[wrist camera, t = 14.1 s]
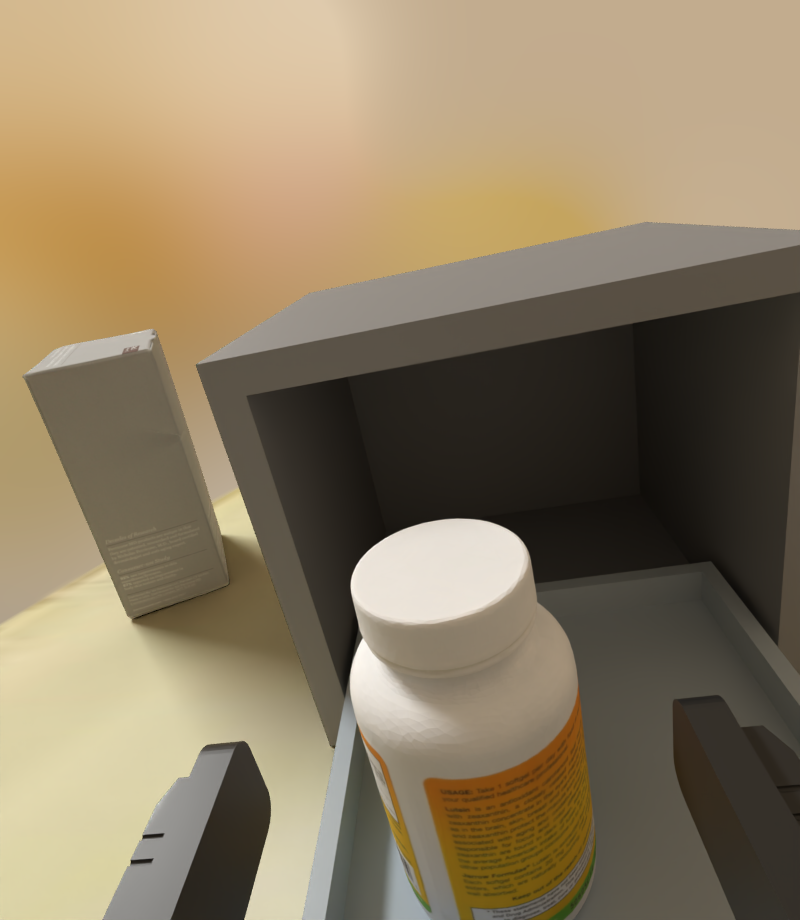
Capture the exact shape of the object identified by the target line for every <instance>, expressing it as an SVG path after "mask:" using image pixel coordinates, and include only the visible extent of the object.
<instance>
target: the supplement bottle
mask: <svg viewBox="0 0 800 920" xmlns="http://www.w3.org/2000/svg"><path fill="white" fill-rule="evenodd" d="M351 594H352V598H353V603H354V607H355V611H356V615H357V619H358V624H359V628H360V632H361V634H362V636H363V639H362V641H361V643H360V645H359V647H358V649H357V652H356V654H355V657H354V660H353V664H352V668H351V675H350V693H351V700H352V705H353V708H354V713H355V717H356V720H357V724H358V727H359V730H360V733H361V736H362V739H363V743H364V746H365V749H366V752H367V755H368V758H369V761H370V764H371V767H372V770H373V773H374V776H375V780H376V783H377V787H378V789H379V792H380V795H381V799H382V802H383V805H384V808H385V811H386V814H387V817H388V820H389V823H390V827H391V830H392V833H393V836H394V839H395V842H396V845H397V849H398V851H399V855H400V858H401V861H402V864H403V867H404V870H405V873H406V876H407V878H408V881H409V883H410V885H411V888H412V890H413V892H414V894H415V896H416V898H417V900H418V902H419V903H420V905H421V906H422V908H423V909H424V911H425V912H426V913H427V915H428V916H429V917H430V918H431V919H432V920H573V919H574V918H575V917H576V915H577V914H578V912H579V911H580V909H581V908H582V906H583V904H584V903H585V901H586V899H587V897H588V894H589V892H590V889H591V886H592V883H593V879H594V874H595V867H596V834H595V825H594V817H593V809H592V800H591V792H590V784H589V774H588V766H587V757H586V749H585V740H584V730H583V721H582V712H581V703H580V693H579V685H578V677H577V669H576V664H575V659H574V654H573V651H572V648H571V645H570V642H569V640H568V637H567V635H566V634H565V632H564V630H563V629H562V627H561V625H560V624H559V623H558V622H557V620H556V619H555V618H554V617H553V615H552V614H551V613H550V612H549V611H547V610H546V609H545V608H544V607H543V606H542V605H540V604H539V603H538V602H537V595H536V589H535V583H534V577H533V571H532V565H531V559H530V555H529V552H528V550H527V548H526V546H525V544H524V543H523V542H522V540H521V539H520V538H519V537H518V536H517V535H515V534H514V533H513V532H511V531H510V530H508V529H506V528H504V527H502V526H500V525H497V524H494V523H491V522H487V521H482V520H475V519H445V520H438V521H431V522H427V523H422V524H419V525H415V526H412V527H409V528H406V529H404V530H401V531H399V532H396V533H394V534H392V535H390V536H389V537H387V538H385V539H383V540H382V541H380V542H379V543H378V544H376V545H375V546H373V547H372V548H371V549H370V550H369V551H368V552H367V553H366V554H365V555H364V556H363V557H362V558H361V560H360V561H359V562H358V564H357V566H356V568H355V570H354V572H353V575H352V579H351Z"/></svg>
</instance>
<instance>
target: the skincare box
mask: <svg viewBox="0 0 800 920" xmlns="http://www.w3.org/2000/svg"><path fill="white" fill-rule="evenodd" d="M23 378H24V379H25V381H26V383H27V385H28V388H29V390H30V392H31V395H32V397H33V399H34V401H35V404H36V406H37V408H38V410H39V412H40V414H41V417H42V419H43V421H44V423H45V426H46V428H47V430H48V433H49V435H50V437H51V440H52V442H53V444H54V446H55V449H56V451H57V454H58V456H59V458H60V460H61V463H62V465H63V468H64V470H65V472H66V474H67V477H68V479H69V481H70V484H71V486H72V488H73V491H74V493H75V495H76V498H77V500H78V502H79V505H80V507H81V509H82V511H83V514H84V516H85V518H86V521H87V523H88V525H89V528H90V530H91V532H92V534H93V537H94V539H95V541H96V544H97V546H98V548H99V551H100V553H101V556H102V558H103V560H104V562H105V565H106V567H107V569H108V572H109V574H110V576H111V579H112V581H113V583H114V586H115V588H116V591H117V593H118V595H119V598H120V600H121V602H122V604H123V607H124V609H125V611H126V614H127V616H128V617H130V618H131V619H133V618H135V617H138V616H141V615H144V614H147V613H150V612H153V611H155V610H158V609H161V608H164V607H167V606H170V605H172V604H175V603H178V602H181V601H184V600H187V599H191V598H193V597H196V596H199V595H202V594H205V593H208V592H211V591H213V590H216V589H219V588H221V587H224V586H226V585H228V584H229V576H228V570H227V564H226V558H225V552H224V547H223V542H222V537H221V532H220V528H219V525H218V522H217V519H216V516H215V512H214V509H213V506H212V502H211V499H210V496H209V493H208V490H207V486H206V483H205V480H204V477H203V474H202V471H201V467H200V464H199V461H198V458H197V455H196V452H195V449H194V445H193V442H192V439H191V436H190V433H189V430H188V427H187V424H186V420H185V417H184V414H183V411H182V408H181V405H180V402H179V399H178V395H177V393H176V389H175V386H174V383H173V380H172V377H171V374H170V371H169V368H168V364H167V362H166V358H165V355H164V352H163V350H162V346H161V344H160V341H159V338H158V335H157V332H156V331H155V330H154V329H150V330H145V331H140V332H136V333H131V334H126V335H120V336H115V337H111V338H105V339H99V340H93V341H88V342H82V343H77V344H72V345H68V346H64V347H61V348H58V349H55V350H53V351H52V352H51V353H50V354H49V355H48V356H46V357H45V358H44V359H43V360H42V361H41V362H40V363H39V364H37V365H36V366H35V367H33V368H32V369H31V370H30V371H28V372H27V373H26V374H24V375H23Z"/></svg>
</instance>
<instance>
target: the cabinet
mask: <svg viewBox="0 0 800 920" xmlns="http://www.w3.org/2000/svg"><path fill="white" fill-rule="evenodd" d="M196 367H197V370H198V373H199V376H200V379H201V382H202V384H203V387H204V390H205V393H206V396H207V399H208V401H209V404H210V407H211V410H212V413H213V415H214V418H215V421H216V424H217V427H218V430H219V432H220V435H221V438H222V441H223V444H224V447H225V449H226V452H227V455H228V458H229V461H230V463H231V466H232V469H233V472H234V475H235V477H236V480H237V483H238V486H239V489H240V492H241V495H242V497H243V500H244V503H245V506H246V509H247V512H248V514H249V517H250V520H251V523H252V526H253V529H254V531H255V534H256V537H257V540H258V543H259V546H260V548H261V551H262V554H263V557H264V560H265V562H266V565H267V568H268V571H269V574H270V577H271V579H272V582H273V585H274V588H275V591H276V594H277V596H278V599H279V602H280V605H281V608H282V611H283V613H284V616H285V619H286V622H287V625H288V627H289V630H290V633H291V636H292V639H293V642H294V644H295V647H296V650H297V653H298V656H299V659H300V661H301V664H302V667H303V670H304V673H305V676H306V678H307V681H308V684H309V687H310V690H311V692H312V695H313V698H314V701H315V704H316V707H317V709H318V712H319V715H320V718H321V721H322V724H323V726H324V729H325V732H326V735H327V738H328V741H329V743H330V746H336V742H337V737H338V731H339V726H340V721H341V716H342V711H343V706H344V700H345V695H346V690H347V685H348V680H349V675H350V669H351V664H352V659H353V654H354V649H355V644H356V638H357V633H358V628H359V624H358V619H357V615H356V611H355V607H354V603H353V598H352V594H351V579H352V575H353V572H354V570H355V568H356V566H357V564H358V562H359V561H360V560H361V558H362V557H363V556H364V555H365V554H366V553H367V552H368V551H369V550H370V549H371V548H372V547H373V546H375V545H376V544H378V543H379V542H380V541H382V540H383V539H385V538H387V537H389V536H390V535H392V534H394V533H396V532H399V531H401V530H404V529H406V528H409V527H412V526H415V525H419V524H422V523H427V522H431V521H438V520H445V519H475V520H482V521H487V522H491V523H494V524H497V525H500V526H502V527H504V528H506V529H508V530H510V531H511V532H513V533H514V534H515V535H517V536H518V537H519V538H520V539H521V540H522V542H523V543H524V544H525V546H526V548H527V550H528V552H529V555H530V559H531V565H532V571H533V577H534V583H535V584H537V583H545V582H553V581H561V580H569V579H576V578H584V577H592V576H600V575H607V574H615V573H623V572H631V571H639V570H646V569H654V568H662V567H670V566H677V565H685V564H693V563H701V562H709V561H711V562H712V563H713V564H714V566H715V567H716V568H717V570H718V571H719V572H720V573H721V575H722V576H723V577H724V579H725V580H726V581H727V582H728V584H729V585H730V586H731V588H732V589H733V590H734V591H735V593H736V594H737V595H738V597H739V598H740V599H741V600H742V602H743V603H744V604H745V606H746V607H747V608H748V609H749V611H750V612H751V613H752V615H753V616H754V617H755V618H756V620H757V621H758V622H759V624H760V625H761V626H762V627H763V629H764V630H765V631H766V633H767V634H768V635H769V636H770V638H771V639H772V640H773V642H774V643H775V644H776V645H777V647H778V648H779V649H780V651H781V652H782V653H783V654H784V656H785V657H786V658H787V660H788V661H789V662H790V663H791V665H792V666H793V667H794V669H795V670H796V671H797V672H798V674H799V675H800V230H787V229H768V228H748V227H729V226H710V225H689V224H670V223H652V222H644V223H640V224H635V225H630V226H625V227H620V228H615V229H611V230H606V231H601V232H597V233H592V234H588V235H583V236H578V237H573V238H568V239H564V240H559V241H554V242H549V243H544V244H540V245H535V246H530V247H526V248H521V249H516V250H511V251H506V252H502V253H497V254H493V255H488V256H483V257H478V258H473V259H469V260H465V261H459V262H454V263H450V264H445V265H440V266H435V267H431V268H426V269H421V270H417V271H412V272H408V273H403V274H398V275H393V276H388V277H383V278H379V279H374V280H369V281H365V282H360V283H355V284H350V285H345V286H341V287H336V288H331V289H326V290H322V291H317V292H313V293H309V294H307V295H306V296H304V297H302V298H301V299H299V300H298V301H296V302H294V303H293V304H291V305H290V306H288V307H286V308H285V309H283V310H282V311H280V312H279V313H277V314H275V315H274V316H272V317H271V318H269V319H267V320H266V321H264V322H263V323H261V324H259V325H258V326H256V327H255V328H253V329H251V330H250V331H248V332H247V333H245V334H244V335H242V336H241V337H239V338H237V339H236V340H234V341H232V342H231V343H229V344H228V345H226V346H224V347H223V348H221V349H220V350H218V351H217V352H215V353H213V354H212V355H210V356H209V357H207V358H206V359H204V360H202V361H201V362H199V363H197V364H196Z"/></svg>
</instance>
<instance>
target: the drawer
mask: <svg viewBox="0 0 800 920" xmlns="http://www.w3.org/2000/svg"><path fill="white" fill-rule="evenodd" d="M535 589H536V595H537V602H538V603H539V604H540V605H542V606H543V607H544V608H545V609H546V610H547V611H549V612H550V613H551V614H552V615H553V617H554V618H555V619H556V620H557V622H558V623H559V624H560V625H561V627H562V629H563V630H564V632H565V634H566V635H567V637H568V640H569V642H570V645H571V648H572V651H573V654H574V659H575V664H576V669H577V677H578V685H579V693H580V703H581V712H582V721H583V730H584V740H585V749H586V757H587V766H588V774H589V784H590V792H591V800H592V809H593V817H594V825H595V834H596V867H595V874H594V879H593V883H592V886H591V889H590V892H589V894H588V897H587V899H586V901H585V903H584V904H583V906H582V908H581V909H580V911H579V912H578V914H577V915H576V917H575V918H574V919H573V920H736V919H735V917H734V915H733V912H732V910H731V908H730V905H729V903H728V901H727V898H726V896H725V893H724V891H723V889H722V886H721V884H720V882H719V879H718V877H717V875H716V872H715V870H714V868H713V865H712V863H711V861H710V858H709V856H708V854H707V851H706V849H705V846H704V844H703V842H702V839H701V837H700V835H699V832H698V830H697V828H696V825H695V823H694V821H693V818H692V816H691V814H690V811H689V809H688V806H687V804H686V802H685V799H684V797H683V794H682V792H681V789H680V786H679V782H678V779H677V775H676V770H675V765H674V757H673V708H672V707H673V701H674V699H681V698H691V697H701V696H711V695H719V696H721V697H722V698H723V699H724V700H725V702H726V703H727V705H728V706H729V708H730V710H731V712H732V713H733V715H734V717H735V718H736V720H737V722H738V723H739V725H740V727H749V726H760V725H763V726H764V727H766V728H767V729H768V730H769V731H770V732H772V733H773V734H774V735H775V736H776V737H778V738H779V739H780V740H781V741H782V742H784V743H785V744H786V745H787V746H789V747H790V748H791V749H792V750H793V751H794V752H795V753H796V755H797V756H798V758H799V759H800V675H799V674H798V672H797V671H796V670H795V669H794V667H793V666H792V665H791V663H790V662H789V661H788V660H787V658H786V657H785V656H784V654H783V653H782V652H781V651H780V649H779V648H778V647H777V645H776V644H775V643H774V642H773V640H772V639H771V638H770V636H769V635H768V634H767V633H766V631H765V630H764V629H763V627H762V626H761V625H760V624H759V622H758V621H757V620H756V618H755V617H754V616H753V615H752V613H751V612H750V611H749V609H748V608H747V607H746V606H745V604H744V603H743V602H742V600H741V599H740V598H739V597H738V595H737V594H736V593H735V591H734V590H733V589H732V588H731V586H730V585H729V584H728V582H727V581H726V580H725V579H724V577H723V576H722V575H721V573H720V572H719V571H718V570H717V568H716V567H715V566H714V564H713V563H712V562H711V561H709V562H701V563H693V564H685V565H677V566H670V567H662V568H654V569H646V570H639V571H631V572H623V573H615V574H607V575H600V576H592V577H584V578H576V579H569V580H561V581H553V582H545V583H537V584H535ZM362 639H363V636H362V634H361V632H360V628H358V633H357V638H356V644H355V649H354V654H353V659H352V664H353V660H354V657H355V654H356V652H357V649H358V647H359V645H360V643H361V641H362ZM352 664H351V668H352ZM350 675H351V669H350ZM350 675H349V680H348V685H347V690H346V695H345V700H344V706H343V711H342V716H341V721H340V726H339V731H338V737H337V742H336V747H335V752H334V757H333V762H332V768H331V773H330V778H329V783H328V788H327V794H326V799H325V804H324V809H323V814H322V819H321V825H320V830H319V835H318V840H317V845H316V850H315V856H314V861H313V866H312V871H311V876H310V881H309V887H308V892H307V897H306V902H305V907H304V912H303V918H302V920H432V919H431V918H430V917H429V916H428V915H427V913H426V912H425V911H424V909H423V908H422V906H421V905H420V903H419V902H418V900H417V898H416V896H415V894H414V892H413V890H412V888H411V885H410V883H409V881H408V878H407V876H406V873H405V870H404V867H403V864H402V861H401V858H400V855H399V851H398V849H397V845H396V842H395V839H394V836H393V833H392V830H391V827H390V823H389V820H388V817H387V814H386V811H385V808H384V805H383V802H382V799H381V795H380V792H379V789H378V787H377V783H376V780H375V776H374V773H373V770H372V767H371V764H370V761H369V758H368V755H367V752H366V749H365V746H364V743H363V739H362V736H361V733H360V730H359V727H358V724H357V720H356V717H355V713H354V708H353V705H352V700H351V693H350Z"/></svg>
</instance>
